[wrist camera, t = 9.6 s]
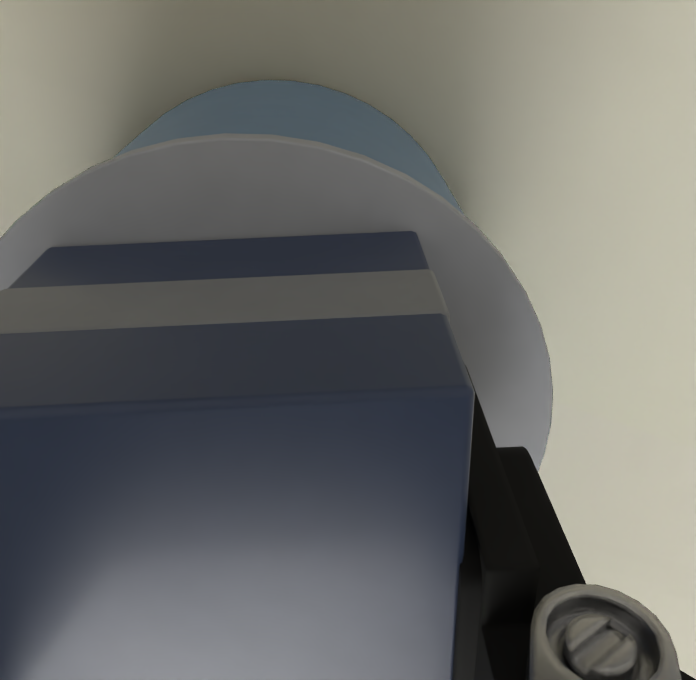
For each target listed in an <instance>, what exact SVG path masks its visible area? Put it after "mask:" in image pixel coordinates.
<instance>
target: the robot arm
mask: <svg viewBox="0 0 696 680" xmlns="http://www.w3.org/2000/svg"><path fill="white" fill-rule="evenodd" d="M465 367H466V365H465ZM466 369H467V367H466ZM467 372H468V369H467ZM468 375H469V372H468ZM469 377H470V375H469ZM470 380H471V378H470ZM471 383H472V380H471ZM472 386H473V383H472ZM473 388H474V386H473ZM474 391H475V388H474ZM452 680H696V679H694V678H693V677H691V676H689V675H687V674H686V673H684V672H682V671H681V670H680V669H679V664H678V658H677V653H676V650H675V648H674V645H673V642H672V640H671V637H670V634H669V632H668V631H667V630H666V629H665V627H664V626H663V625H662V623H661V622H660V621H659V619H658V618H657V617H656V615H654V614H653V613H652V612H651V611H650V610H648V609H647V608H646V607H645V606H643V605H642V604H641V603H640V602H639V601H637V600H635V599H633V598H631V597H629V596H627V595H625V594H623V593H622V592H620V591H617V590H614V589H610V588H607V587H603V586H600V585H591V584H586V583H585V580H584V578H583V576H582V573H581V571H580V569H579V566H578V564H577V562H576V560H575V557H574V555H573V553H572V550H571V548H570V546H569V543H568V541H567V539H566V536H565V534H564V532H563V530H562V527H561V525H560V523H559V520H558V518H557V516H556V513H555V511H554V509H553V506H552V504H551V502H550V500H549V497H548V495H547V493H546V490H545V488H544V486H543V483H542V481H541V479H540V476H539V474H538V472H537V470H536V467H535V465H534V463H533V460H532V458H531V456H530V454H529V452H528V450H527V449H526V448H525V447H523V446H519V447H498V448H496V446H495V443H494V440H493V437H492V435H491V432H490V429H489V426H488V424H487V421H486V418H485V416H484V413H483V410H482V407H481V405H480V402H479V399H478V397H477V394H476V391H475V399H474V413H473V428H472V443H471V458H470V473H469V488H468V502H467V517H466V532H465V547H464V557H463V562H462V563H460V567H459V582H458V598H457V614H456V629H455V645H454V661H453V676H452Z"/></svg>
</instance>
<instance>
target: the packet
mask: <svg viewBox="0 0 696 680" xmlns="http://www.w3.org/2000/svg"><path fill="white" fill-rule="evenodd" d="M474 399H475V391H474V388H473V386H472V383H471V380H470V377H469V375H468V372H467V369H466V367H465V364H464V361H463V358H462V356H461V353H460V350H459V347H458V345H457V342H456V339H455V337H454V334H453V331H452V328H451V326H450V314H449V312H448V309H447V306H446V304H445V301H444V298H443V296H442V293H441V290H440V288H439V285H438V282H437V280H436V277H435V274H434V272H433V271H432V270H430V268H429V266H428V263H427V260H426V257H425V255H424V252H423V249H422V246H421V244H420V241H419V238H418V236H417V233H416V232H413V231H400V232H378V233H356V234H334V235H311V236H289V237H267V238H245V239H223V240H201V241H179V242H157V243H135V244H112V245H90V246H68V247H51V248H49V249H47V250H46V251H45V252H44V253H43V254H42V255H41V256H40V257H39V258H38V259H37V260H36V261H35V262H34V263H33V264H32V265H31V266H30V267H29V268H28V269H27V270H26V271H25V272H23V273H22V274H21V275H20V276H19V277H18V278H17V279H16V280H15V281H14V282H13V283H12V284H11V285H10V286H9V287H8V288H7V289H3V290H1V291H0V680H452V676H453V661H454V645H455V629H456V614H457V598H458V582H459V567H460V563H462V562H463V557H464V547H465V532H466V517H467V502H468V488H469V473H470V458H471V443H472V428H473V413H474Z"/></svg>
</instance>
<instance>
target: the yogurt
mask: <svg viewBox="0 0 696 680" xmlns="http://www.w3.org/2000/svg"><path fill="white" fill-rule="evenodd" d="M400 231H413V232H416V233H417V236H418V238H419V241H420V244H421V246H422V249H423V252H424V255H425V257H426V260H427V263H428V266H429V268H430V270H432V271H433V272H434V274H435V277H436V280H437V282H438V285H439V288H440V290H441V293H442V296H443V298H444V301H445V304H446V306H447V309H448V312H449V314H450V326H451V328H452V331H453V334H454V337H455V339H456V342H457V345H458V347H459V350H460V353H461V356H462V358H463V361H464V364H465V365H466V367H467V369H468V372H469V375H470V378H471V380H472V383H473V386H474V388H475V391H476V394H477V397H478V399H479V402H480V405H481V407H482V410H483V413H484V416H485V418H486V421H487V424H488V426H489V429H490V432H491V435H492V437H493V440H494V443H495V446H496V448H498V447H519V446H523V447H525V448H526V449H527V450H528V452H529V454H530V456H531V458H532V460H533V463H534V465H535V467H536V470H537V472H538V470H539V467H540V465H541V462H542V459H543V457H544V454H545V449H546V445H547V440H548V435H549V431H550V426H551V417H552V400H553V386H552V376H551V366H550V358H549V354H548V350H547V346H546V343H545V339H544V335H543V332H542V328H541V324H540V322H539V320H538V318H537V316H536V313H535V311H534V309H533V307H532V304H531V302H530V300H529V298H528V295H527V293H526V291H525V290H524V288H523V287H522V285H521V283H520V282H519V280H518V279H517V277H516V276H515V274H514V273H513V271H512V270H511V268H510V267H509V265H508V263H507V262H506V260H505V259H504V257H503V256H502V254H501V253H500V252H499V251H498V250H497V248H496V247H495V246H494V245H493V244H492V243H491V242H490V241H489V239H488V238H487V237H486V236H485V235H484V234H483V233H482V232H481V230H480V229H479V228H478V227H477V226H476V225H475V224H474V223H473V222H472V221H471V220H469V219H468V218H467V217H466V216H465V215H464V214H463V212H462V210H461V209H460V207H459V205H458V203H457V202H456V200H455V198H454V197H453V195H452V193H451V191H450V190H449V188H448V186H447V185H446V183H445V181H444V180H443V178H442V176H441V175H440V173H439V172H438V170H437V168H436V167H435V165H434V164H433V162H432V161H431V159H430V158H429V156H428V155H427V154H426V153H425V151H424V150H423V149H422V148H421V147H420V146H419V145H418V143H417V142H416V141H415V140H414V139H413V138H412V137H411V136H410V135H409V134H408V133H407V132H406V131H404V130H403V129H402V128H401V127H400V126H399V125H398V124H396V123H395V122H394V121H393V120H392V119H390V118H389V117H387V116H386V115H384V114H383V113H381V112H380V111H378V110H376V109H375V108H373V107H372V106H370V105H369V104H366V103H364V102H362V101H360V100H358V99H356V98H354V97H351V96H349V95H347V94H345V93H342V92H339V91H336V90H332V89H329V88H326V87H323V86H320V85H314V84H308V83H302V82H296V81H281V80H260V81H251V82H243V83H236V84H232V85H228V86H224V87H220V88H217V89H213V90H210V91H207V92H205V93H203V94H200V95H198V96H195V97H193V98H191V99H188V100H186V101H185V102H183V103H181V104H180V105H178V106H176V107H175V108H173V109H171V110H170V111H168V112H166V113H165V114H163V115H162V116H161V117H160V118H159V119H157V120H156V121H155V122H154V123H153V124H151V125H150V126H149V127H148V128H147V129H145V130H144V131H143V132H142V133H141V134H140V135H138V136H137V137H136V138H135V139H134V140H133V141H132V142H130V143H129V144H128V145H127V146H126V147H125V148H124V149H122V150H121V151H120V152H119V153H118V154H117V155H116V156H114V157H113V158H112V159H109V160H107V161H104V162H102V163H99V164H97V165H95V166H92V167H90V168H88V169H87V170H85V171H83V172H82V173H80V174H78V175H77V176H75V177H73V178H72V179H70V180H68V181H67V182H65V183H63V184H62V185H60V186H58V187H57V188H55V189H53V190H52V191H51V192H50V193H48V194H47V195H46V196H45V197H44V198H42V199H41V200H40V201H39V202H38V203H36V204H35V205H34V206H33V207H32V208H30V209H29V210H28V211H27V212H26V213H24V214H23V215H22V216H21V217H20V218H19V219H17V220H16V221H15V222H14V223H13V224H12V226H11V227H10V228H9V229H8V230H7V231H6V233H5V234H4V235H3V236H2V237H1V238H0V291H1V290H3V289H7V288H8V287H9V286H10V285H11V284H12V283H13V282H14V281H15V280H16V279H17V278H18V277H19V276H20V275H21V274H22V273H23V272H25V271H26V270H27V269H28V268H29V267H30V266H31V265H32V264H33V263H34V262H35V261H36V260H37V259H38V258H39V257H40V256H41V255H42V254H43V253H44V252H45V251H46V250H47V249H49V248H51V247H68V246H90V245H112V244H135V243H157V242H179V241H201V240H223V239H245V238H267V237H289V236H311V235H334V234H356V233H378V232H400Z"/></svg>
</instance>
